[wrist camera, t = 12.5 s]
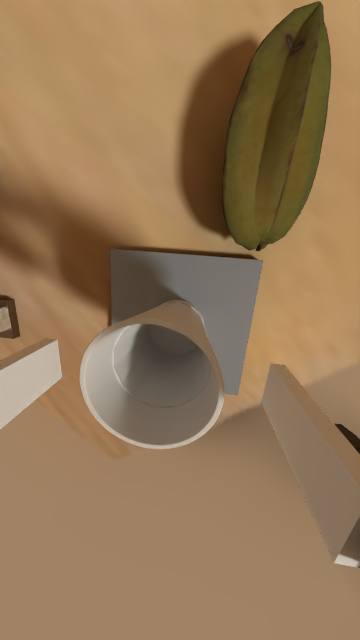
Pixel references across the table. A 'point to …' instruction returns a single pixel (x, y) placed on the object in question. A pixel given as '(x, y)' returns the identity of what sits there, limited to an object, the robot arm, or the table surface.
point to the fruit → (277, 130)
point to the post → (8, 319)
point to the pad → (192, 297)
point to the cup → (154, 377)
